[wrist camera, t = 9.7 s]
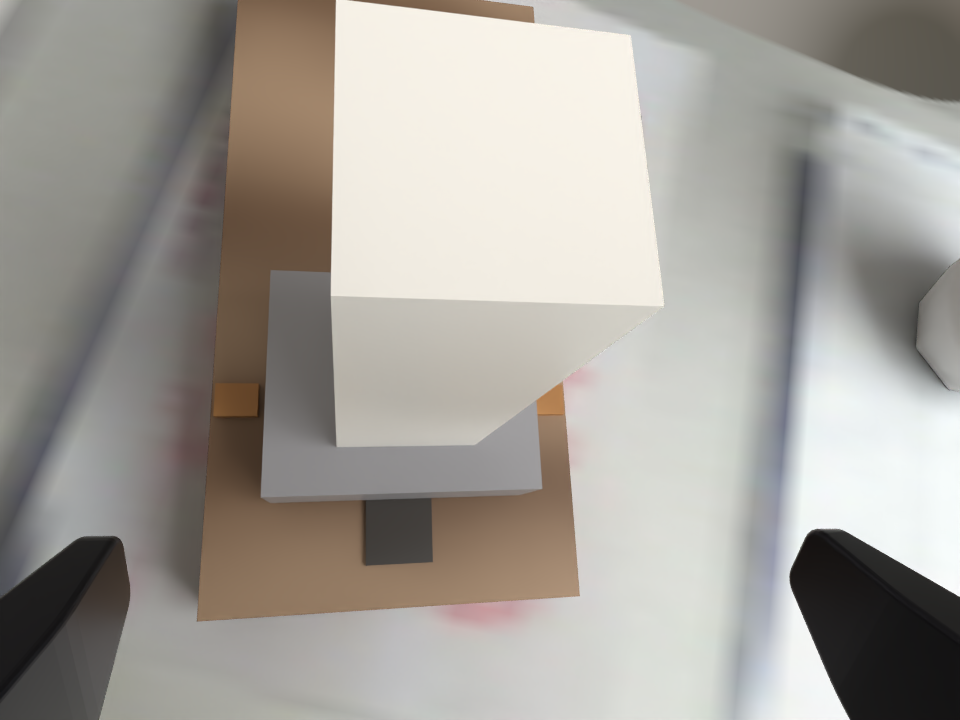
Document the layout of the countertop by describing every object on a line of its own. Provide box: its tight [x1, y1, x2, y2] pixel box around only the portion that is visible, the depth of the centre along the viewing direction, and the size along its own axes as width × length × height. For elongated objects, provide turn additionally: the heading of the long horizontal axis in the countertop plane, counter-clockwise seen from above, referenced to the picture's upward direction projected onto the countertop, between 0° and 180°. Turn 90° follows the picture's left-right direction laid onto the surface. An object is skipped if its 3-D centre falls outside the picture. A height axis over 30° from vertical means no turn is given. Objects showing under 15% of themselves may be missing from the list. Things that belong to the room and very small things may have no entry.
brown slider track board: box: [197, 0, 580, 621], centre depth 19 cm, size 18×9×2 cm, turn 3°
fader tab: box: [261, 0, 664, 503], centre depth 11 cm, size 5×6×11 cm
